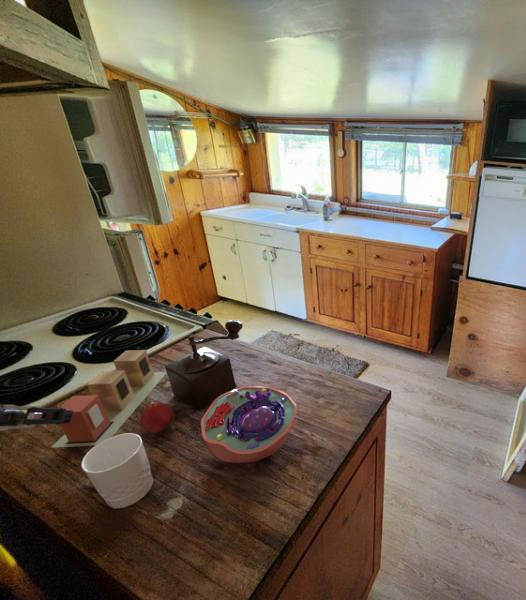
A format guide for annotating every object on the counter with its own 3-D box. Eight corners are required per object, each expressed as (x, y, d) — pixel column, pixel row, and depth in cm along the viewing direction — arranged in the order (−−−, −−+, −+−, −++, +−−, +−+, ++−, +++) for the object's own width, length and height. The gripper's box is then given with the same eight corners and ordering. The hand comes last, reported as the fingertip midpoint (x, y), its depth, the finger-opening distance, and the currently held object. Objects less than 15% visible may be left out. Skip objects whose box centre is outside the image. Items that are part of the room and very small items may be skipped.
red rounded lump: (138, 437, 69) (126, 409, 66) (162, 418, 74) (152, 390, 71) (161, 443, 68) (150, 415, 65) (183, 423, 73) (174, 395, 70)
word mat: (51, 449, 66) (50, 447, 66) (127, 374, 87) (127, 372, 87) (105, 446, 67) (104, 444, 67) (167, 373, 88) (167, 371, 88)
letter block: (69, 442, 67) (53, 412, 63) (86, 424, 71) (72, 396, 68) (95, 440, 67) (81, 411, 64) (111, 423, 72) (98, 394, 68)
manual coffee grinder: (200, 413, 76) (181, 349, 68) (172, 396, 80) (152, 334, 73) (255, 377, 88) (245, 319, 81) (229, 364, 93) (216, 308, 85)
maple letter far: (123, 387, 82) (113, 361, 79) (135, 375, 86) (125, 350, 83) (144, 386, 83) (135, 360, 79) (155, 374, 87) (146, 349, 84)
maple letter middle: (99, 412, 74) (86, 384, 71) (113, 397, 79) (102, 370, 75) (122, 411, 75) (111, 383, 72) (135, 396, 79) (125, 370, 76)
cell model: (267, 400, 81) (261, 363, 76) (316, 445, 69) (312, 405, 64) (193, 441, 69) (180, 400, 64) (236, 503, 57) (224, 459, 53)
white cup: (98, 521, 54) (75, 481, 50) (106, 483, 60) (86, 444, 56) (156, 497, 58) (139, 459, 53) (158, 464, 64) (143, 426, 59)
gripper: (3, 387, 46) (92, 395, 61) (-115, 392, 44) (7, 398, 59) (-17, 445, 43) (81, 437, 59) (-143, 452, 42) (-9, 443, 57)
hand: (43, 418), depth 59 cm, fingers open, 8 cm apart
